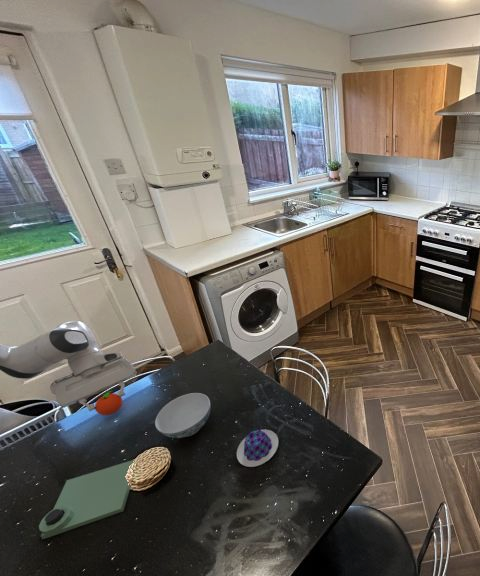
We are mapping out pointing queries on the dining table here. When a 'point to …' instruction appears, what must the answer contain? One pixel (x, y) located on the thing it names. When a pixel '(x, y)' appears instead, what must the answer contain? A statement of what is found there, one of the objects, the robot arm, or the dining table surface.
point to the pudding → (257, 448)
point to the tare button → (54, 516)
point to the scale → (90, 499)
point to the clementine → (108, 404)
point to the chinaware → (183, 415)
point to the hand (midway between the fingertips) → (108, 402)
